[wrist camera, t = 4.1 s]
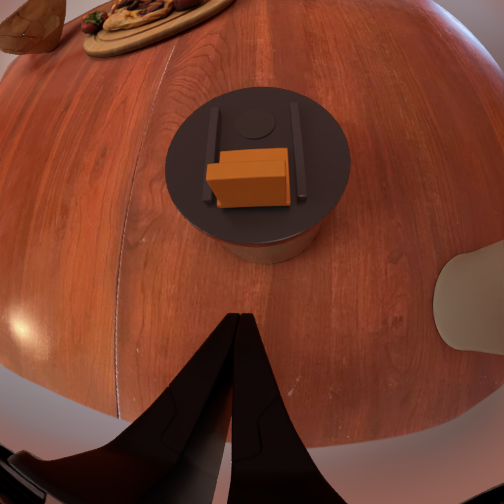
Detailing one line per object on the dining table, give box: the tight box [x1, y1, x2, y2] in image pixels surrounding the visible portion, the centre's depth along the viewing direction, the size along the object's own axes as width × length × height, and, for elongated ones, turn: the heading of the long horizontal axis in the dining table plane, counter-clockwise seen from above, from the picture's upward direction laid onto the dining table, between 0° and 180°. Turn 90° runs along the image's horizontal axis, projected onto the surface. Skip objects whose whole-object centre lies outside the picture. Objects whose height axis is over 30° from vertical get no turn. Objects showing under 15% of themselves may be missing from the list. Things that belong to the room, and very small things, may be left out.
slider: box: [206, 148, 290, 208], centre depth 12 cm, size 3×4×3 cm
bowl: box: [0, 0, 66, 55], centre depth 30 cm, size 21×20×20 cm
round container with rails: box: [165, 87, 351, 264], centre depth 19 cm, size 11×11×9 cm
